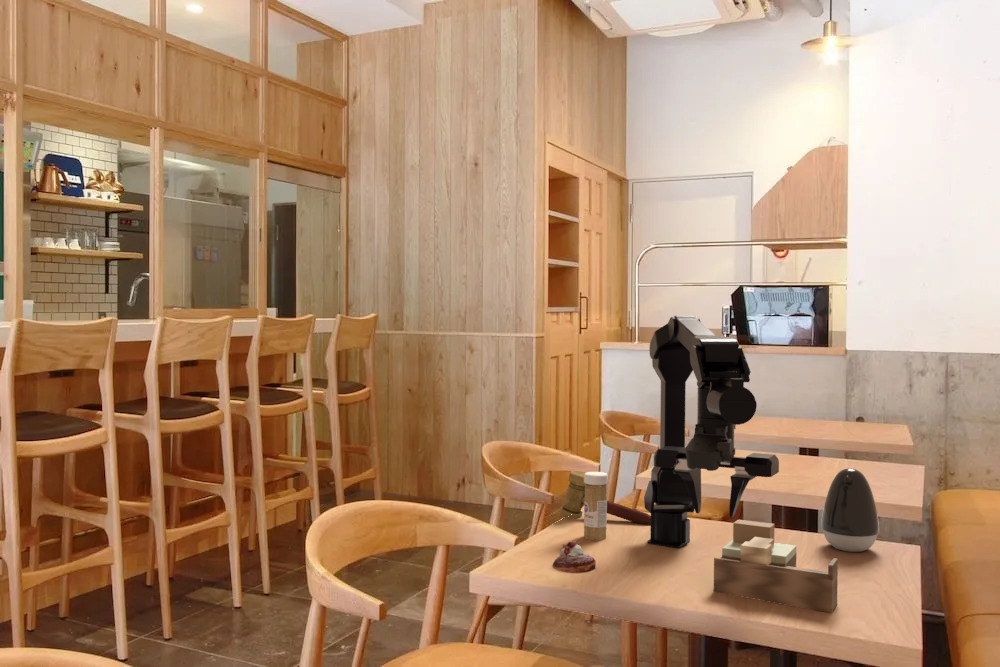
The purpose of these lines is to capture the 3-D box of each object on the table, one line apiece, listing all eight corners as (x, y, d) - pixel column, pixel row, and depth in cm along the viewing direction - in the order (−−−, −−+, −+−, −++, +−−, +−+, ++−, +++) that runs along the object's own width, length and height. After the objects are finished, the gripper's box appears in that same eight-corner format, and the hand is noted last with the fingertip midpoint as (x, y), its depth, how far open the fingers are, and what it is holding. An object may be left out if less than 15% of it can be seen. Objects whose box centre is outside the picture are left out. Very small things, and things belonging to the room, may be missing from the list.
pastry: (564, 563, 156) (564, 535, 156) (603, 569, 153) (603, 540, 153) (544, 574, 149) (544, 545, 149) (585, 581, 146) (585, 550, 146)
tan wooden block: (740, 563, 137) (740, 545, 137) (751, 553, 143) (751, 536, 143) (766, 566, 135) (766, 548, 135) (776, 556, 141) (777, 539, 141)
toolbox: (713, 593, 139) (714, 549, 139) (735, 573, 149) (735, 532, 149) (832, 612, 130) (832, 565, 130) (845, 590, 141) (846, 547, 140)
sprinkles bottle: (578, 541, 171) (579, 472, 171) (596, 538, 173) (597, 470, 173) (593, 546, 167) (594, 475, 167) (612, 543, 169) (612, 473, 169)
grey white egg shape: (817, 551, 164) (818, 470, 164) (824, 539, 174) (825, 462, 173) (876, 558, 160) (877, 475, 159) (881, 545, 169) (882, 466, 169)
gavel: (656, 544, 184) (668, 499, 183) (652, 550, 180) (665, 503, 179) (562, 513, 191) (573, 469, 190) (556, 517, 186) (568, 472, 185)
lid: (722, 555, 143) (722, 528, 142) (735, 544, 149) (735, 518, 149) (785, 564, 138) (785, 536, 137) (796, 552, 144) (796, 526, 144)
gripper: (641, 418, 138) (641, 517, 138) (762, 426, 128) (761, 532, 129) (666, 412, 147) (665, 504, 148) (780, 419, 138) (779, 518, 138)
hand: (714, 514), depth 140 cm, fingers open, 5 cm apart
